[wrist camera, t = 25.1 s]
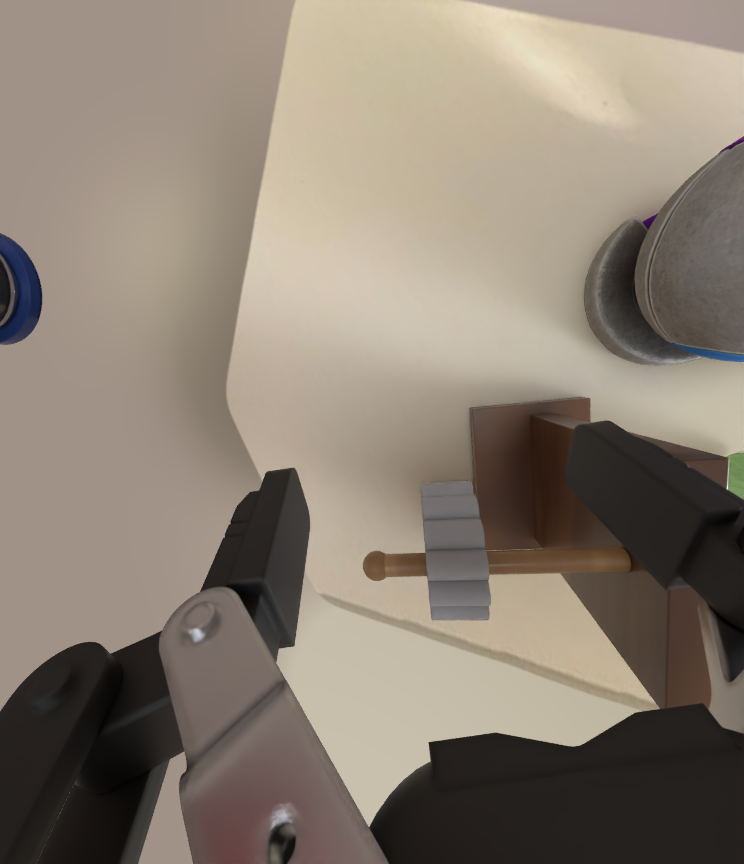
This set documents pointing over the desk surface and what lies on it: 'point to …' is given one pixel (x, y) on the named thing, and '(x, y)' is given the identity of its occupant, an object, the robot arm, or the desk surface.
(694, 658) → the rack
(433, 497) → the grey scalloped ring
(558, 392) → the desk surface
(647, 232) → the webcam
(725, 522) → the robot arm
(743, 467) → the seedling
